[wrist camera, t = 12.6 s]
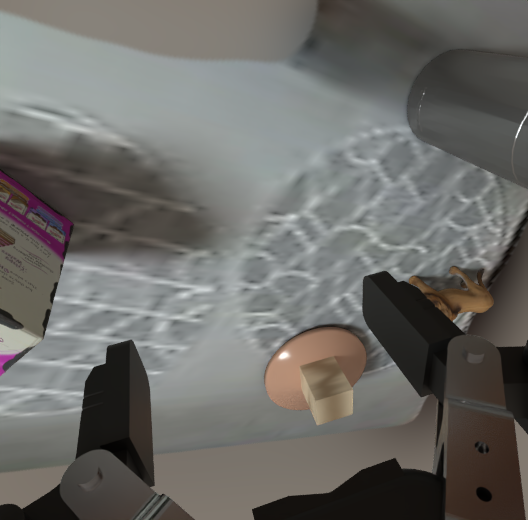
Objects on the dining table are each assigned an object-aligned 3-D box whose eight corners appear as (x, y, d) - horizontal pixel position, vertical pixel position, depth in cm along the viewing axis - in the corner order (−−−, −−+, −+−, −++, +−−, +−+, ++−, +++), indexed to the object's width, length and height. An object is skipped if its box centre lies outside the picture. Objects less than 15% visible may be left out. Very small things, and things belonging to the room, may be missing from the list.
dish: (362, 312, 55) (368, 319, 54) (359, 384, 63) (364, 392, 62) (257, 341, 53) (260, 349, 51) (268, 412, 61) (271, 421, 60)
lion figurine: (385, 312, 57) (423, 358, 49) (385, 283, 54) (425, 327, 46) (478, 281, 58) (528, 320, 51) (483, 250, 55) (536, 288, 48)
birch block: (333, 355, 56) (352, 389, 51) (334, 379, 59) (352, 414, 54) (299, 366, 55) (315, 401, 50) (301, 389, 58) (317, 425, 53)
